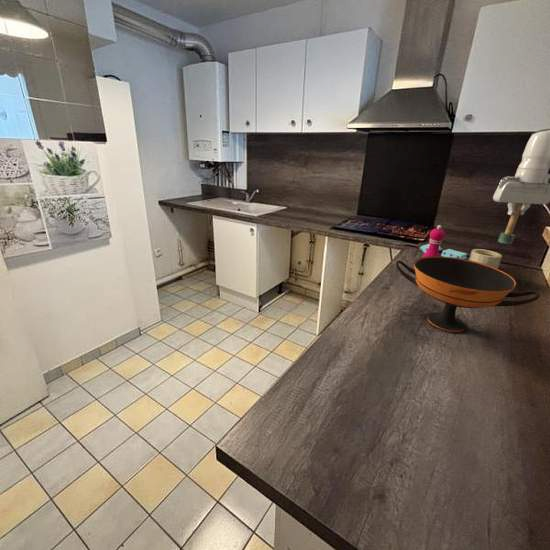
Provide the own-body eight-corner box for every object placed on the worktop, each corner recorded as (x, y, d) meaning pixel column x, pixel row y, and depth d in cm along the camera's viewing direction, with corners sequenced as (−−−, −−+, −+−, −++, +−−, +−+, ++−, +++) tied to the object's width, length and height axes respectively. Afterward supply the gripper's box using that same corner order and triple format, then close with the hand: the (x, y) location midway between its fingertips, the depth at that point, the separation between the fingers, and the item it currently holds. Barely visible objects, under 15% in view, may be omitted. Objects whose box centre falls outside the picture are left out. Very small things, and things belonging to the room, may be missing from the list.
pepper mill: (437, 266, 136) (449, 225, 128) (436, 271, 130) (448, 228, 123) (421, 263, 140) (431, 222, 132) (419, 268, 134) (430, 225, 126)
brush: (505, 241, 119) (520, 201, 112) (514, 244, 115) (530, 203, 108) (494, 240, 118) (509, 200, 112) (503, 244, 114) (519, 202, 108)
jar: (481, 272, 132) (489, 249, 127) (499, 282, 122) (508, 257, 118) (459, 271, 131) (466, 248, 127) (474, 281, 122) (483, 257, 117)
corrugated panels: (427, 248, 163) (418, 251, 158) (428, 243, 162) (419, 245, 156) (497, 267, 138) (489, 271, 133) (499, 261, 137) (491, 265, 132)
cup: (375, 320, 91) (385, 268, 84) (397, 292, 110) (407, 247, 103) (519, 369, 72) (548, 307, 65) (515, 325, 91) (538, 273, 84)
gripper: (509, 176, 103) (495, 215, 109) (563, 179, 104) (546, 217, 110) (496, 175, 109) (483, 212, 114) (547, 177, 110) (532, 214, 116)
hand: (515, 214), depth 112 cm, fingers closed on brush, 2 cm apart
